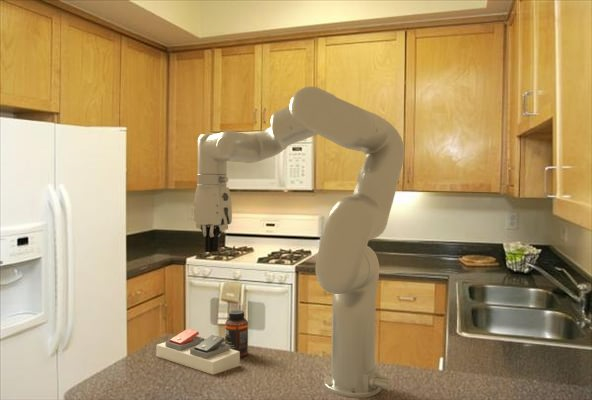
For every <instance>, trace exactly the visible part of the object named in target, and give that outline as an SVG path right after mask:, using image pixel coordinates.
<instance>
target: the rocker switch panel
mask: <svg viewBox="0 0 592 400" xmlns="http://www.w3.org/2000/svg"><path fill="white" fill-rule="evenodd" d="M204 340H205V338H204V337H203V336H202V337H201V336H199V335H197V336H195V337H194V338H193V341H192V342H189V343H186V344H183V345H178V344H174V343H171V342H170V339H169V340H167V341H163V342H162V343H157V344H156V348H155V349H156V350H155V352H156V354H155V355H156V358H160V359H164V360H167V361H170V362H173V363H176V364H179V365H182V366H185V367H188V368H192V369H194V370H198V371H201V372H205V373H207V374H210V375H216V374H219V373H222V372H225V371H228V370H231V369H234V368H237V367H240V365H241V362H240V361H241V360H240V359H241V357H240V351H236V350H232V349H230V345H228V344H225V342H222V343H221V344H220V345H219V349H216V350H213V351H210V352H208V353H205V352H201V351H198V350H195V347H196V346H197V345H199V344H200V343H201V342H203V341H204Z"/></svg>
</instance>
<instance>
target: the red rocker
mask: <svg viewBox="0 0 592 400" xmlns="http://www.w3.org/2000/svg"><path fill="white" fill-rule="evenodd" d="M199 334H200V333H199V331H198V330H195V329H191V328H186V329H185V330H183V331H182V332H180V333H178V334H176V335H175V336H174V337H172V338H171V339H169V340H170V342H171V343H174V344H178V345H183V344H186V343H189V342H192V341H193V338H194V337H195V336H199Z"/></svg>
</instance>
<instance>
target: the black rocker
mask: <svg viewBox="0 0 592 400" xmlns="http://www.w3.org/2000/svg"><path fill="white" fill-rule="evenodd" d="M221 343H225V338H224V337H222V336H219V335H214V334H211V335H210V336H208V337H206V338H205V339H204V341H203V342H201V343H200V344H199V345H197V346H196V347H195V350H198V351H201V352H205V353H208V352H210V351H213V350H216V349H219V345H220V344H221Z"/></svg>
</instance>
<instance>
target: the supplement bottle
mask: <svg viewBox="0 0 592 400" xmlns="http://www.w3.org/2000/svg"><path fill="white" fill-rule="evenodd" d="M248 325H249V323H248V320H247V319H246V318H245V311H244V310H241V309H233V310H229V312H228V319H226V321H225V329H224V331H225V332H224V333H225V335H224V337H225V338H224V344H228V345H230V349H232V350H236V351H240V358H243V357H245V356H247V355H248V353H249V327H248Z"/></svg>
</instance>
